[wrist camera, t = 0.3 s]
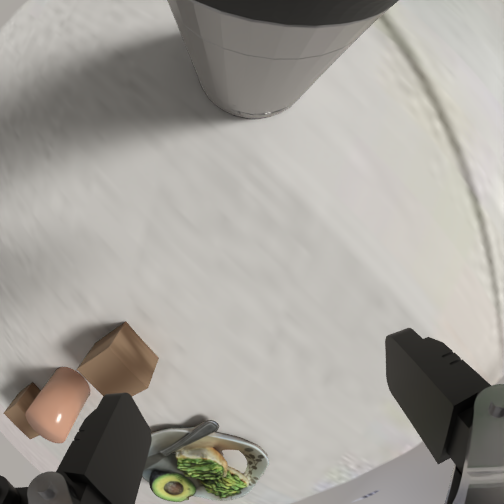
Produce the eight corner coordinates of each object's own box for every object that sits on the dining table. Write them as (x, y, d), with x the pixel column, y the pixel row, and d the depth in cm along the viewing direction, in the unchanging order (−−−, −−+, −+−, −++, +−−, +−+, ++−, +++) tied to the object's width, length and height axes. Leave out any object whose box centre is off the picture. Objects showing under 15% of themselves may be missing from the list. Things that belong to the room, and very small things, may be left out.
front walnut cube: (95, 342, 28) (76, 369, 23) (126, 320, 28) (108, 347, 23) (127, 376, 29) (113, 405, 25) (158, 357, 29) (148, 387, 24)
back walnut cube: (19, 392, 30) (3, 413, 25) (33, 381, 30) (15, 404, 25) (43, 417, 31) (30, 439, 26) (59, 408, 31) (44, 432, 26)
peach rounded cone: (49, 365, 29) (18, 405, 21) (81, 368, 29) (52, 412, 21) (63, 397, 30) (38, 438, 22) (95, 401, 30) (73, 446, 23)
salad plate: (145, 390, 30) (135, 418, 26) (292, 427, 33) (298, 454, 28) (128, 470, 35) (122, 492, 30) (239, 496, 37) (240, 518, 33)
